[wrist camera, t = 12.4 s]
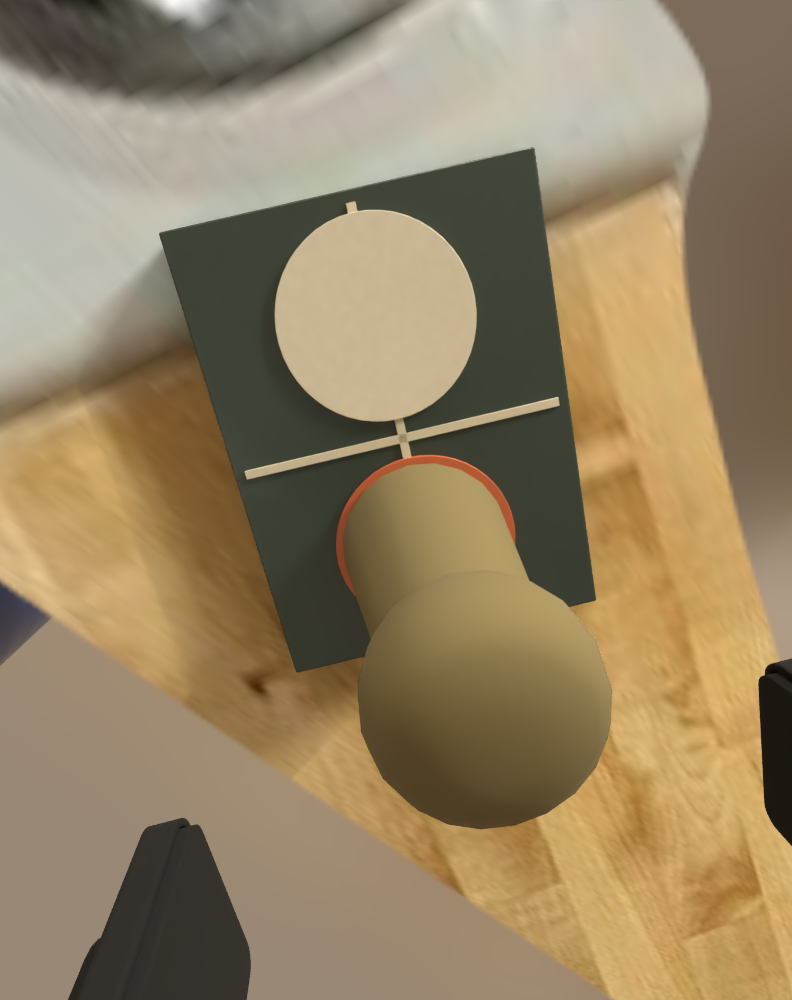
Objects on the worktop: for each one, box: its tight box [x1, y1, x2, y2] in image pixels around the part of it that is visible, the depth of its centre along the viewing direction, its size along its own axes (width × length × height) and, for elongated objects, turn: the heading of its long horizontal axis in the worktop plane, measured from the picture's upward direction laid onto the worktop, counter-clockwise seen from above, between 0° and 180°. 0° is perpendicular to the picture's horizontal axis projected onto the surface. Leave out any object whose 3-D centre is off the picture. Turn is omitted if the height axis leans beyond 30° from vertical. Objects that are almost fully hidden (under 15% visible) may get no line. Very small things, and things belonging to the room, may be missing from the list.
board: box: [159, 147, 596, 672], centre depth 21 cm, size 12×16×1 cm
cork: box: [343, 463, 612, 829], centre depth 16 cm, size 6×6×11 cm
